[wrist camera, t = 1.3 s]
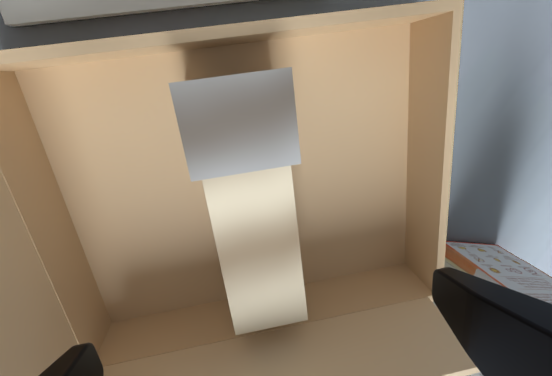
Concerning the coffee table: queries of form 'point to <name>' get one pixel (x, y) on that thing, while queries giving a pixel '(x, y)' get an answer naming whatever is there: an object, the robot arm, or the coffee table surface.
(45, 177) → the carton
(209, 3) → the grey mat
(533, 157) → the coffee table surface
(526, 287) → the cracker box
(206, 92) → the grey and cream hammer
